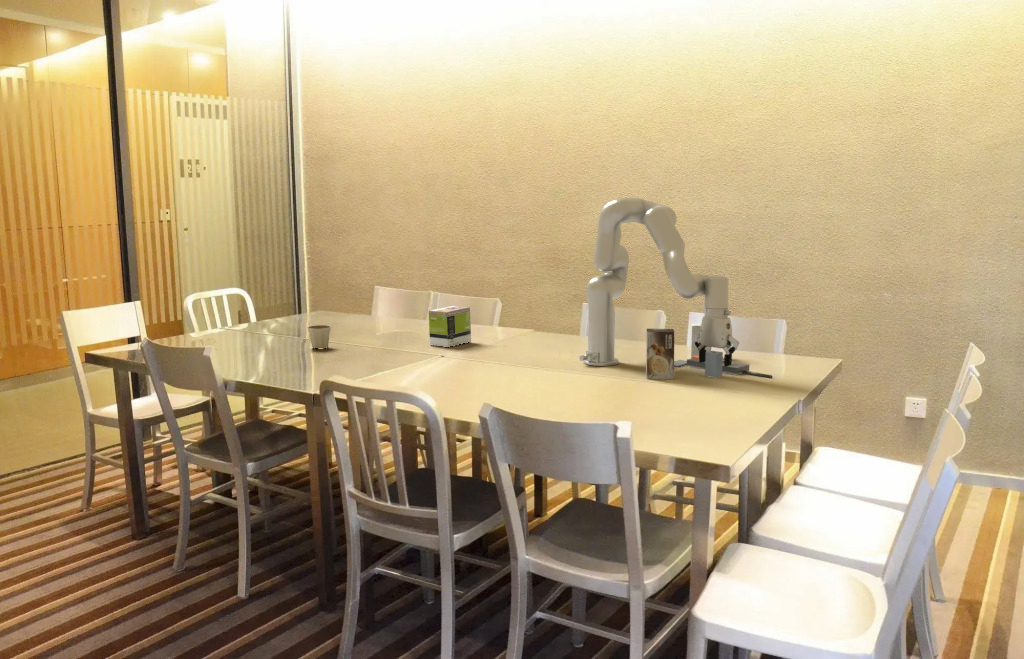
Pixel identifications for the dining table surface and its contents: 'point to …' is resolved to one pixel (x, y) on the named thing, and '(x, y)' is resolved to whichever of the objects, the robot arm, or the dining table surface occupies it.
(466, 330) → the tea box
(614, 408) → the dining table surface
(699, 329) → the supplement box
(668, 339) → the coffee box
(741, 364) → the power strip
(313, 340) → the flower pot
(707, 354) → the block
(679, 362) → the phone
